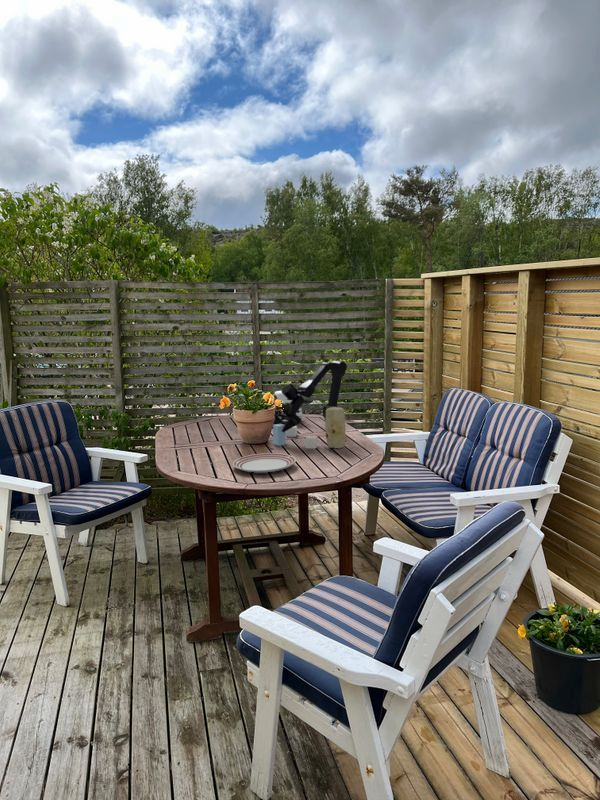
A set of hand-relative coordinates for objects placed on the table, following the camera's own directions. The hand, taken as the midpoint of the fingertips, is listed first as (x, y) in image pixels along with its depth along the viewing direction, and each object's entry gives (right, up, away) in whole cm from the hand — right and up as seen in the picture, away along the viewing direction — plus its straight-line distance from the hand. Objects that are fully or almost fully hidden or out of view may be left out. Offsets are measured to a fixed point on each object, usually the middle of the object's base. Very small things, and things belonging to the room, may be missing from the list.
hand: (277, 430), depth 294 cm
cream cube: (+17, -8, -5) cm, 20 cm away
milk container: (+4, +2, +59) cm, 59 cm away
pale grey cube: (+7, -4, +21) cm, 22 cm away
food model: (+29, -8, -8) cm, 31 cm away
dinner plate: (-4, -14, -39) cm, 42 cm away
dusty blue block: (+1, -7, +2) cm, 8 cm away
